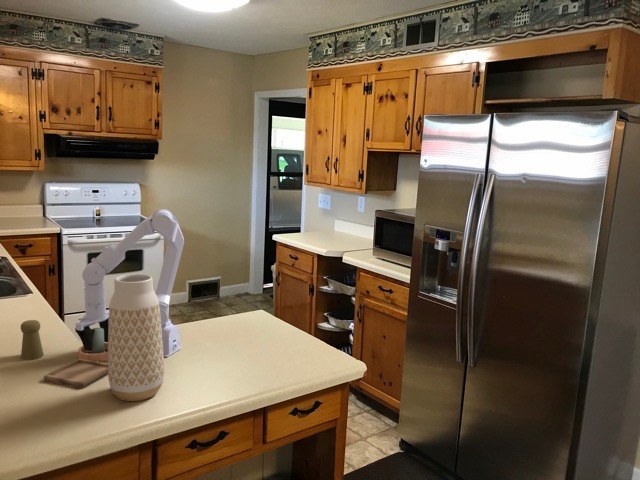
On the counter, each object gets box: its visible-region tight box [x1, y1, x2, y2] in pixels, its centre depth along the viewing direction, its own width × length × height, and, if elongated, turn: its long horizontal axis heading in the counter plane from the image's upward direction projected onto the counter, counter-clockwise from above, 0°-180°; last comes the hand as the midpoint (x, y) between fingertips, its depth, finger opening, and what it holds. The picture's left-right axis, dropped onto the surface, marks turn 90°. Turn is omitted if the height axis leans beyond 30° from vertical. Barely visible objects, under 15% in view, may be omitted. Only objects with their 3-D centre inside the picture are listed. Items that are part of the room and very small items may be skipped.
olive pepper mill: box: [20, 319, 45, 361], centre depth 161 cm, size 6×6×11 cm
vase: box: [107, 273, 165, 402], centre depth 138 cm, size 14×14×31 cm
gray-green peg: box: [89, 327, 106, 354], centre depth 164 cm, size 4×4×8 cm
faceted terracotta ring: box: [77, 342, 108, 362], centre depth 164 cm, size 11×11×2 cm
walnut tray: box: [43, 358, 108, 389], centre depth 150 cm, size 13×13×2 cm
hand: (97, 345), depth 164 cm, fingers open, 7 cm apart
